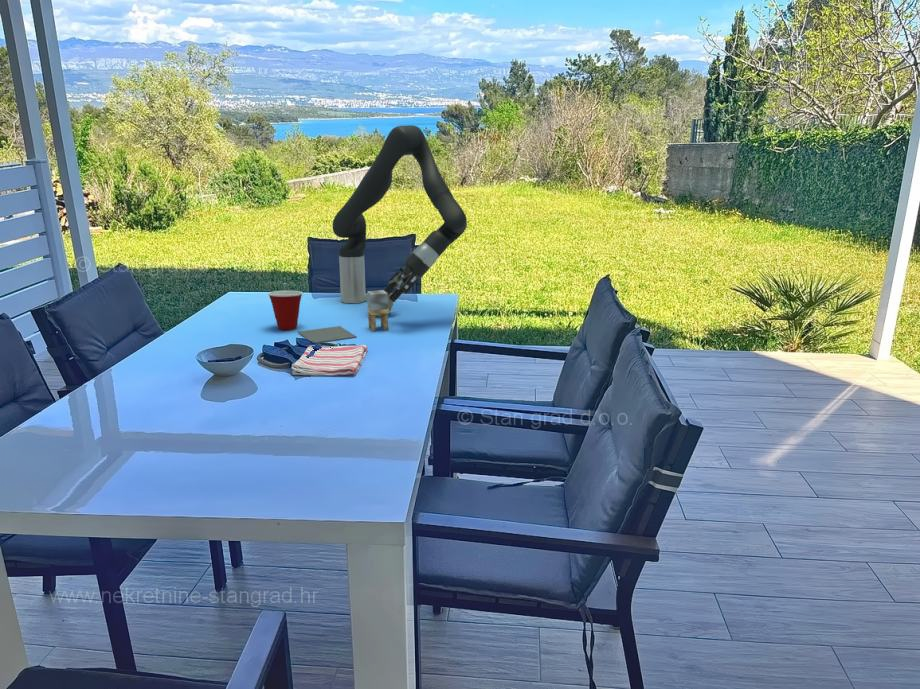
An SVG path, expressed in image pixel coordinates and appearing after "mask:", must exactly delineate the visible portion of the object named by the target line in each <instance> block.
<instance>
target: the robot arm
mask: <svg viewBox="0 0 920 689" xmlns="http://www.w3.org/2000/svg"><path fill="white" fill-rule="evenodd" d="M410 155H411V156H413V158H414V159H415V160H416V162H417V163H418V165H419V168H420V171H421V180H422V186H423V189H424V191H425V193H426V195H427V197H428V199H429V200H430V203H431V204H432V205H433V206H434V208H435V210H438V213H439V215H440V216H441V218H442V221H443V223H442V225H441V226H439V228H438V229H436V230H434V231H432V232H431V233H430V234H428V236H427V237H426V238H425V239H424V240H423V241H422V242H421V243H420V244H419V245H418V246H416V248H415V249H414V250H413V251H412V252H411V253H410V254H409V256H407V258H405V260H404V261H403V264H404V266H405V268H403V267H399V268H398V270H397V271H396V272H395V273H394V274H393V275H392V276H391V277H390V278H389V279H388V281H389V282H388V284H387V286H386V287H385V288H384V289H383V290H384V291H385V292H387V293H388V295H389V294H390V293H392V294H391V295H390V297H389V299H390V300H391V301H393V302H396V301H397V300H398V299H399V298H400V297H401V295H404V294H406V295H407V293H409V291H410V290H411V289H412V288H413V287H414V286H415V284H416V283H417V282H418V281H419V279H421V278H423V276H424V275H425V274H426V273H427V272H428V271H429V270H430V269H431V268H432V266H433V265H434V264H435V263H436V262H437V261H438V259H439V257H441V255H442V254H443V253H444V252H445V251H446V250H447V249H448V247H449V246H450V245H451V244H453V243H455V241H456V240H458V238H459V237H461V235H463V233H464V232H465V231H466V230H467V227H468V221H467V216H466V214H465V212H464V210H463V208H462V207H461V205H460V204H459V202H458V201H457V200H456V199H455V198H454V195H453V193H452V192H451V190H450V188H449V186H448V184H447V183H446V181H445V179H444V178H443V176H442V174H441V173H440V170H439V168H438V165H437V163H436V160H435V157H434V156H433V153H432V151H431V148H430V145H429V144H428V140H427V139H426V136H425V133H423V131H422V129H421V128H420V127H418V126H417V125H412V124H411V125H410V124H409V125H397V126H394V127H393V128H392V129H391V130H390V132H389V133H388V135H387V136H386V138H385V141H384V142H383V145H382V146H381V149H380V151H379V152H378V155H377V156H376V158H375V160H374V161H373V162H372V164H371V166H369V169H368V170H367V171H366V173H365V174H364V176H363V177H362V179H361V180H360V182H359V184H358V185H357V187H356V188H355V190H354V192H353V193H352V194H351V195H350V197H349V199H348V200H347V201H346V202H345V204H344V205H343V206H342V207H341V208H340V210H338V212H337V213H336V215H335V216H334V218H333V221H332V225H331V226H332V231H333V234H334V235H336V237H338V238H342V239H346V238H347V240H346V243H345V244H343V245H341V247H339V249H338V259H339V260H338V262H339V278H340V279H339V280H340V281H339V284H340V285H339V286H340V302H341V303H345V304H359V303H364V302H367V301H366V274H365V272H366V271H365V270H366V266H365V250H366V247H367V246H366V245H367V222H366V218H365V216H364V215H363V214H364V213H365V212H366V211H368V210H370V209H371V208H373V207H374V206H375V205H376V204H378V203H379V202H381V200H383V198H384V196H385V195H386V193H388V191H389V189H391V185H392V182H393V170H394V168H395V166H396V165H397V164H398V162H399V161H400V160H401V159H402V158H403V157H404V156H410ZM417 277H418V278H419V279H418V278H417Z"/></svg>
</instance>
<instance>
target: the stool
mask: <svg viewBox="0 0 920 689" xmlns="http://www.w3.org/2000/svg"><path fill="white" fill-rule="evenodd" d="M366 295H367V301H366V303H368V304H367V314H368V317H367V318H368V329H371V332H377V320H376V319H377V317H376V315H379V314H380V316H381V317H380V328H383V331H389V314H390V313H389V309H388V293H387V292H385V291H384V289H381V290H380V289H379V290H368V291H367V292H366Z"/></svg>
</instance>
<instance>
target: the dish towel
mask: <svg viewBox="0 0 920 689" xmlns="http://www.w3.org/2000/svg"><path fill="white" fill-rule="evenodd" d="M312 346H313V345H309V346H308V347H307V348H306V349H305V351H304V353H303V354H302V355H301V356H300V358H299V359H298V360H296V361H295V362H294V363H291V367H290V368H291V370H292V371H291V373H292V375H293V376H294V375H295V376H314V377H315V376H316V377H317V376H318V377H319V376H320V377H322V376H329V377H331V376H332V377H334V376H335V377H336V376H354V377H355V376H356V373H358V371H360V368H361V366H362V364H363V361H364V359H365V358H366V355H367V352H368V351H369V350H368V345H366V344H361V345H343V346H342V345H338V346H321V347H322V348H321V349H319V350H317V351H315V353H314V355H313V356H311V357H309V358H307V357H306V356H307V355H309V354H310V352H311V351H312V350H314V349H313V347H312ZM330 347H331V348H330ZM332 348H333V349H332Z"/></svg>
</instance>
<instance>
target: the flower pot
mask: <svg viewBox="0 0 920 689" xmlns="http://www.w3.org/2000/svg"><path fill="white" fill-rule="evenodd" d="M392 293H393V292H391V293H390V294H389V295H388V309H389V314H390V312H391V311H392V308H393V306H394V302H393V301H391V300H390V299H389V297H390V295H391V294H392ZM365 297H366V301H365V302H366V303H367V294H365ZM367 305H368V303H367ZM376 318H381V316H380V314H379V315H376Z"/></svg>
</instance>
